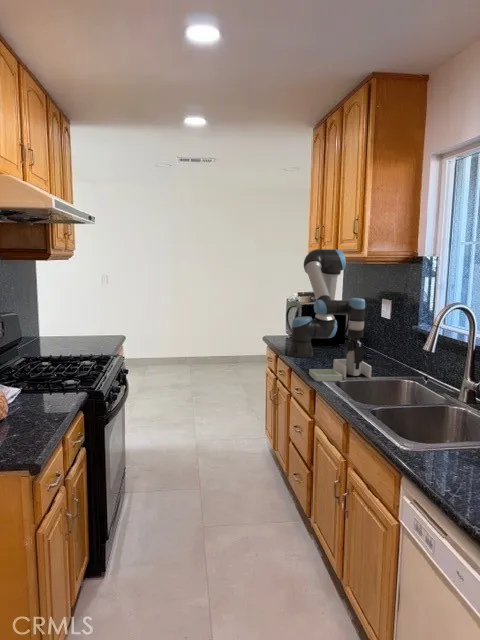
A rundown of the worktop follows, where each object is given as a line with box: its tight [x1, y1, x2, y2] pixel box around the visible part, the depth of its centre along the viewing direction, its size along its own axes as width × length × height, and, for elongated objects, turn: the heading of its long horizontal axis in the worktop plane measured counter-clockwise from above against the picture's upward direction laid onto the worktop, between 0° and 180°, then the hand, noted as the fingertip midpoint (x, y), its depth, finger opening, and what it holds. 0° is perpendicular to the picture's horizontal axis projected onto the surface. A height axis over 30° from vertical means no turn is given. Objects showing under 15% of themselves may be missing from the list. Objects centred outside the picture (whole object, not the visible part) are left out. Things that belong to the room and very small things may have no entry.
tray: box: [308, 368, 343, 382], centre depth 236 cm, size 13×13×3 cm
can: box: [345, 351, 362, 377], centre depth 241 cm, size 8×8×12 cm
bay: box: [332, 358, 373, 379], centre depth 244 cm, size 17×14×6 cm
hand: (353, 373), depth 242 cm, fingers closed on can, 7 cm apart
